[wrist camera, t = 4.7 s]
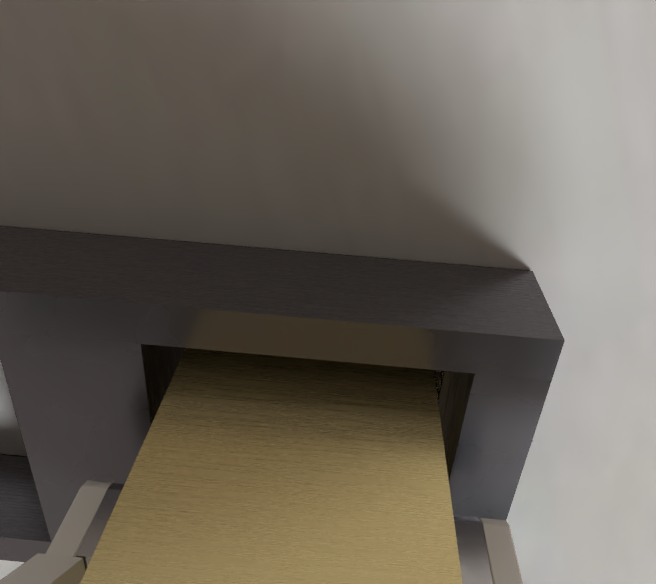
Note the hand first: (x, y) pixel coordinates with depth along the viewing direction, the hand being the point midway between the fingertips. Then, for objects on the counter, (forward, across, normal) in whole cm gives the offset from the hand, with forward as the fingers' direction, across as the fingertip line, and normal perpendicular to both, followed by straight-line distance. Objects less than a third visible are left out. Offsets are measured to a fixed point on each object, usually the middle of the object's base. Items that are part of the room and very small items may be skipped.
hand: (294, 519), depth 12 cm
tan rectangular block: (+4, 0, 0) cm, 4 cm away
